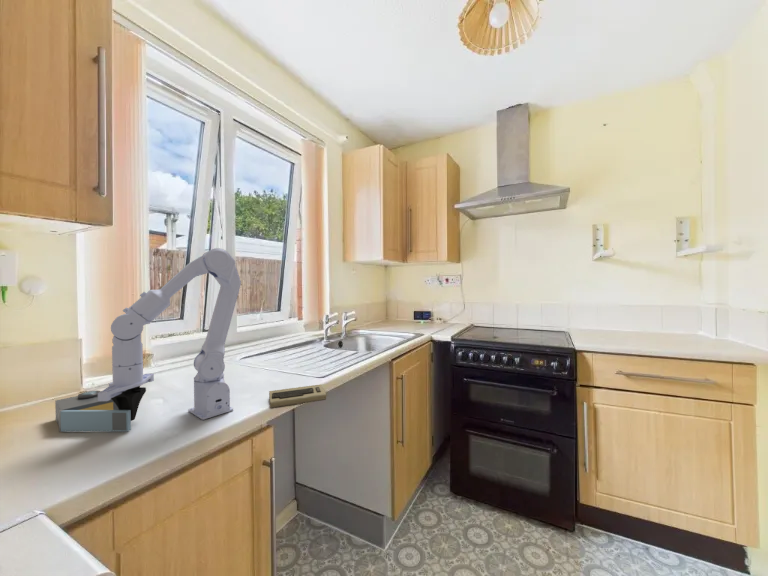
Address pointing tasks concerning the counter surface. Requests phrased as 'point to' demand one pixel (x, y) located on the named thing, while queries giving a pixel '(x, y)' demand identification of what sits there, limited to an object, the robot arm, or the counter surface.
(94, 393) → the camera body
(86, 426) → the side door
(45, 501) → the counter surface
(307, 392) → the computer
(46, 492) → the counter surface
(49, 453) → the counter surface
